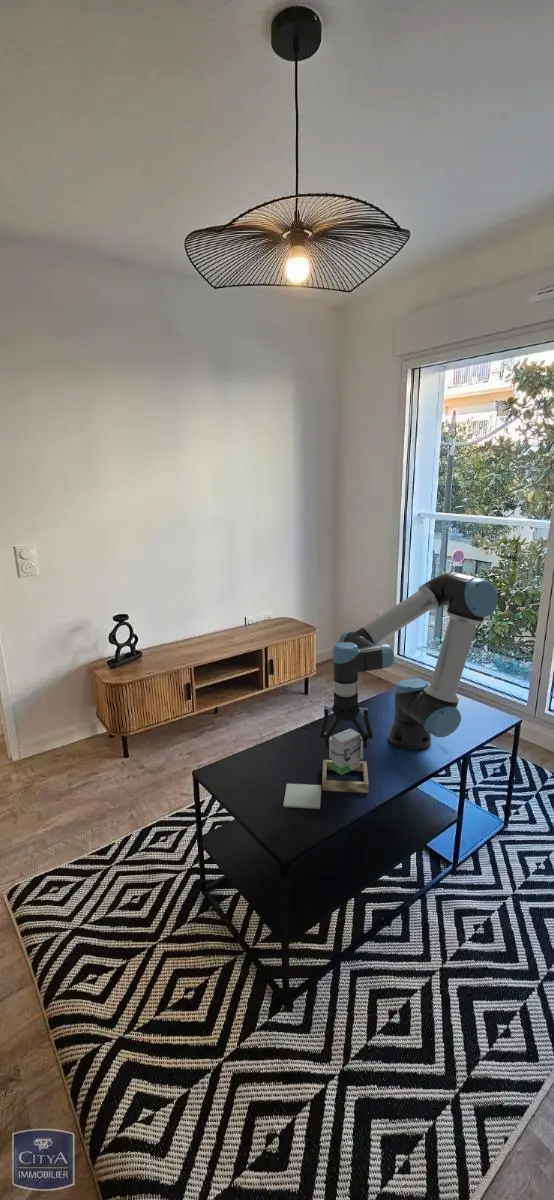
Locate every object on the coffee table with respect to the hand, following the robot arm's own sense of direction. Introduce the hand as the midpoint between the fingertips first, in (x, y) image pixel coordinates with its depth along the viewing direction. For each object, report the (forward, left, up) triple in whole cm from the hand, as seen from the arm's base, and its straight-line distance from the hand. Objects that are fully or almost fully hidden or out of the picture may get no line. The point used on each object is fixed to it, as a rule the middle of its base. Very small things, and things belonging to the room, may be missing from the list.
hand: (346, 756), depth 165 cm
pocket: (0, 0, -8) cm, 8 cm away
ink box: (0, 0, -4) cm, 4 cm away
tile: (+13, +10, -8) cm, 19 cm away
